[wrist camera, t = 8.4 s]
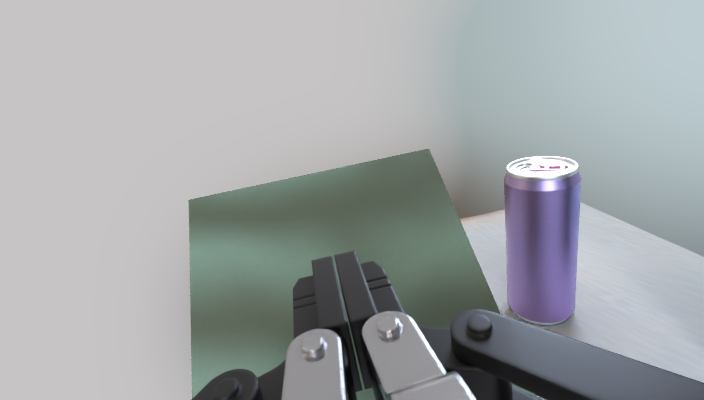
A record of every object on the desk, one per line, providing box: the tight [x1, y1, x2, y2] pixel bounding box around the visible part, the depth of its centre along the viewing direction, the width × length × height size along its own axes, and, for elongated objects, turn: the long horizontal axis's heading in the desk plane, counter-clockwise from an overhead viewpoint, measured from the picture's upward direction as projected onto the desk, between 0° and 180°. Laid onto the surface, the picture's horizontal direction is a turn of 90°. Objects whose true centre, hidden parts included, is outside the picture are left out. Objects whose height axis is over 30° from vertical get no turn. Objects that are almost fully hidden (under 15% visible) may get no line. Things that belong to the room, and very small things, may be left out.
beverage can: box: [504, 156, 581, 325], centre depth 35 cm, size 6×6×15 cm
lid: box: [189, 149, 536, 400], centre depth 17 cm, size 16×14×1 cm
